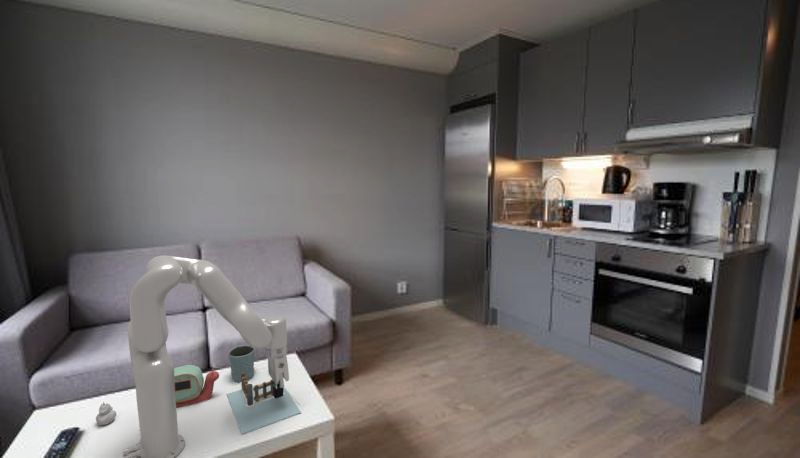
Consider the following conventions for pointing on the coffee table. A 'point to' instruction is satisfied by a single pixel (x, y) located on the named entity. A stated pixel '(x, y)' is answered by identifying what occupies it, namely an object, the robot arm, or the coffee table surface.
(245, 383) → the fence fixed
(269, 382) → the swing panel
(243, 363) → the grey green pot
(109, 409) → the grey poop figurine
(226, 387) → the coffee table surface
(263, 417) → the card
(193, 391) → the toy snail
